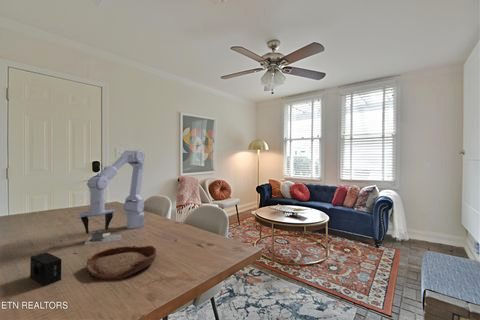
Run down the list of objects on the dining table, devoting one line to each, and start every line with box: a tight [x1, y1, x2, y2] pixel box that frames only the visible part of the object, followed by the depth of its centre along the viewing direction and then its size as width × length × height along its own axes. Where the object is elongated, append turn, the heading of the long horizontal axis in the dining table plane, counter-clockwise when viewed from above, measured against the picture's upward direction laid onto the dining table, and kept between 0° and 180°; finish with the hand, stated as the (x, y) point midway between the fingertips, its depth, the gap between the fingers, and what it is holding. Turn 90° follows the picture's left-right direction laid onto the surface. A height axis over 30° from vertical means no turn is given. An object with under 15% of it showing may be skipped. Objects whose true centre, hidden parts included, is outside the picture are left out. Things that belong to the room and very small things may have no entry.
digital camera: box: [29, 252, 62, 287], centre depth 71 cm, size 10×5×7 cm, turn 62°
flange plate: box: [84, 233, 123, 245], centre depth 104 cm, size 14×8×2 cm, turn 114°
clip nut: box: [90, 229, 104, 241], centre depth 103 cm, size 4×4×5 cm
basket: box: [86, 245, 157, 281], centre depth 81 cm, size 22×20×5 cm
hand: (97, 231), depth 103 cm, fingers open, 7 cm apart
